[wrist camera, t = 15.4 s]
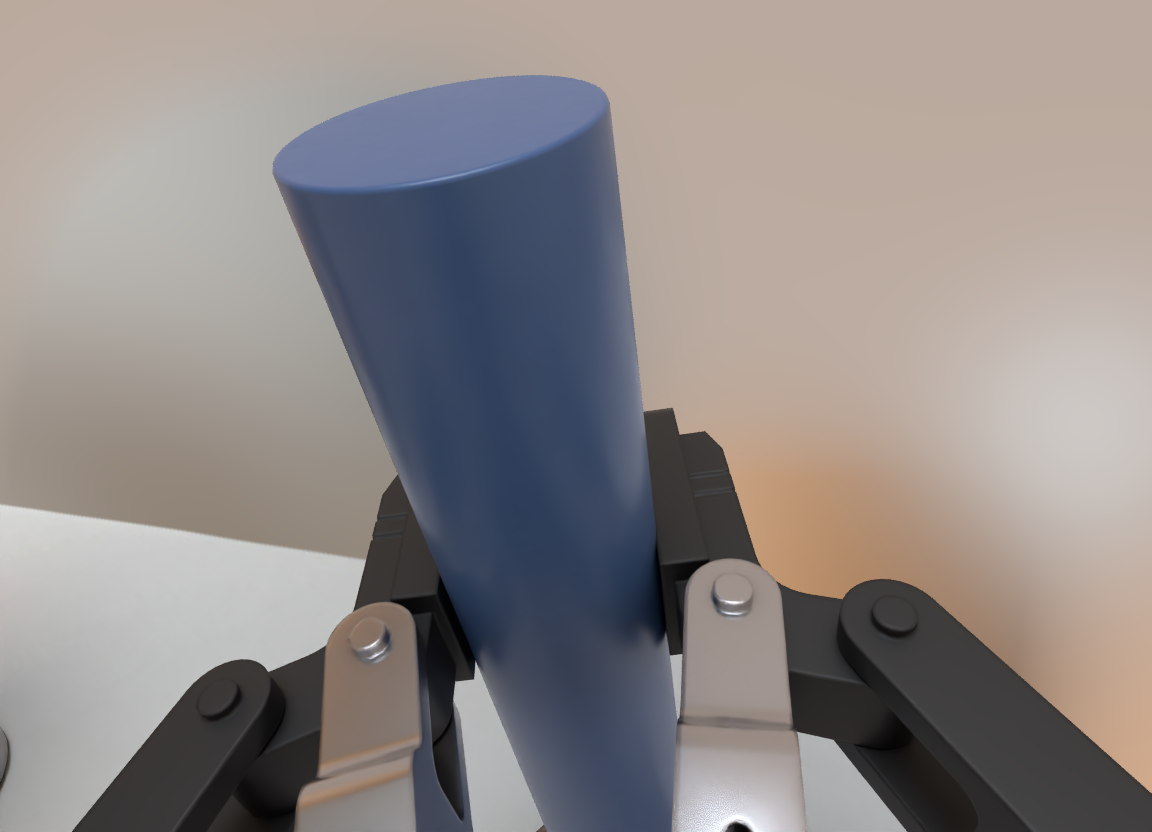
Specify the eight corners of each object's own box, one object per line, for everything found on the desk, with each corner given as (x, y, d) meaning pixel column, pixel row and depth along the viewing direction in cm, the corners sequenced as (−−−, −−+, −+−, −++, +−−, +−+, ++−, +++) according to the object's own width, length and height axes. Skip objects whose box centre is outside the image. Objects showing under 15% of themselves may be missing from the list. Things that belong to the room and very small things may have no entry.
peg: (526, 815, 17) (228, 147, 7) (627, 729, 18) (493, 62, 8) (610, 939, 15) (349, 222, 5) (717, 831, 16) (682, 94, 6)
